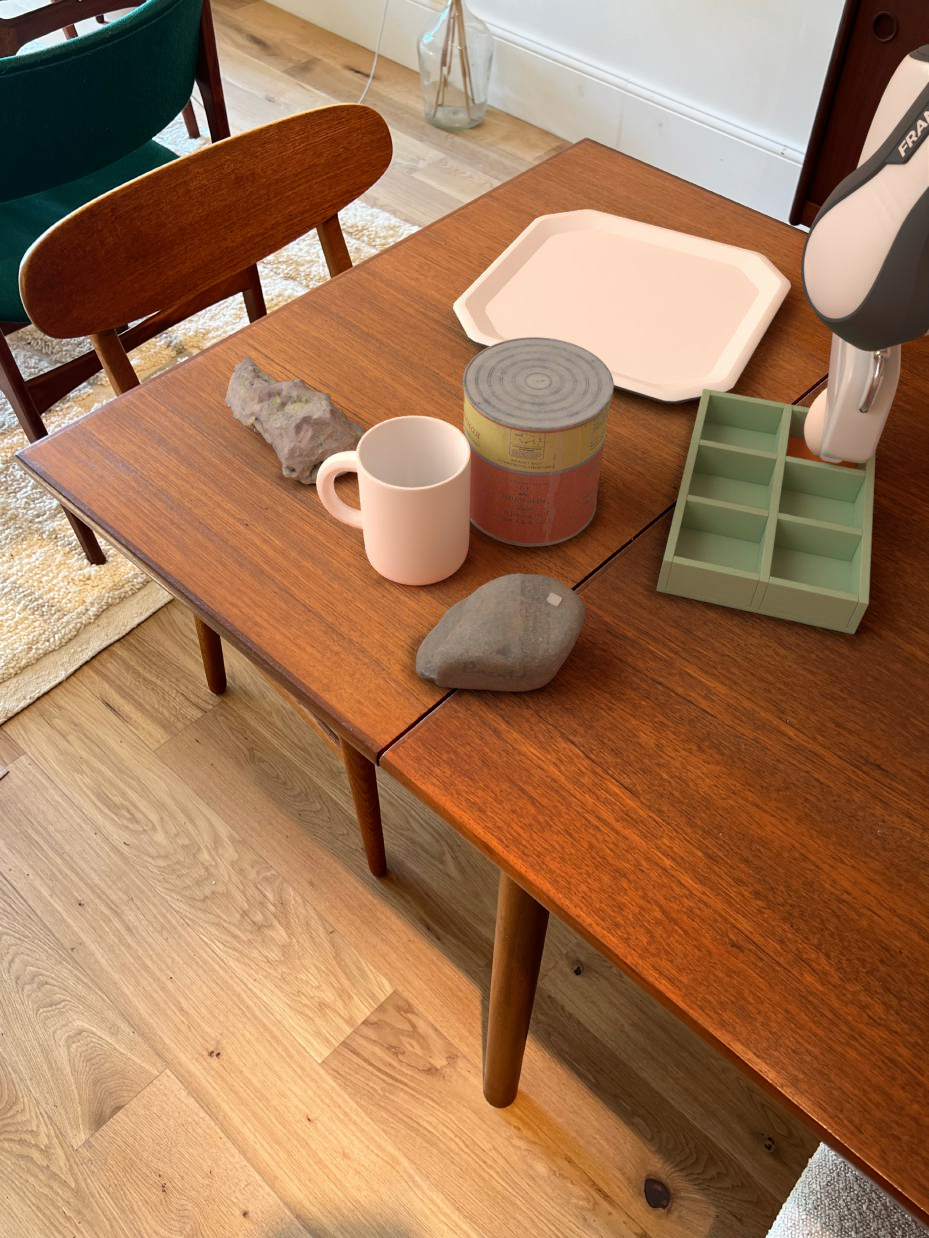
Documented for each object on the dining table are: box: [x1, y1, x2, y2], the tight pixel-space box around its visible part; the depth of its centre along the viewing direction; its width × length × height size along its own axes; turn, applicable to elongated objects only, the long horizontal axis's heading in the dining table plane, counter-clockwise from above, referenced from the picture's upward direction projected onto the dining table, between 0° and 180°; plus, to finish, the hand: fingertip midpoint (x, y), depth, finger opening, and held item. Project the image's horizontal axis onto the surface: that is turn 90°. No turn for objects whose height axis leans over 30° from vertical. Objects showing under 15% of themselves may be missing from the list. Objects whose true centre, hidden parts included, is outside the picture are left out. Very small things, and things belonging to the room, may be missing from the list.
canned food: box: [462, 337, 615, 548], centre depth 79 cm, size 11×11×12 cm
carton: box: [655, 389, 877, 635], centre depth 81 cm, size 15×22×4 cm
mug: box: [315, 415, 471, 586], centre depth 76 cm, size 12×8×10 cm
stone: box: [415, 572, 586, 692], centre depth 70 cm, size 9×9×10 cm
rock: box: [224, 355, 367, 486], centre depth 85 cm, size 16×7×7 cm, turn 49°
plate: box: [452, 208, 792, 405], centre depth 101 cm, size 29×29×2 cm
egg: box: [804, 387, 827, 459], centre depth 82 cm, size 5×5×7 cm
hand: (832, 434), depth 83 cm, fingers closed on egg, 5 cm apart
